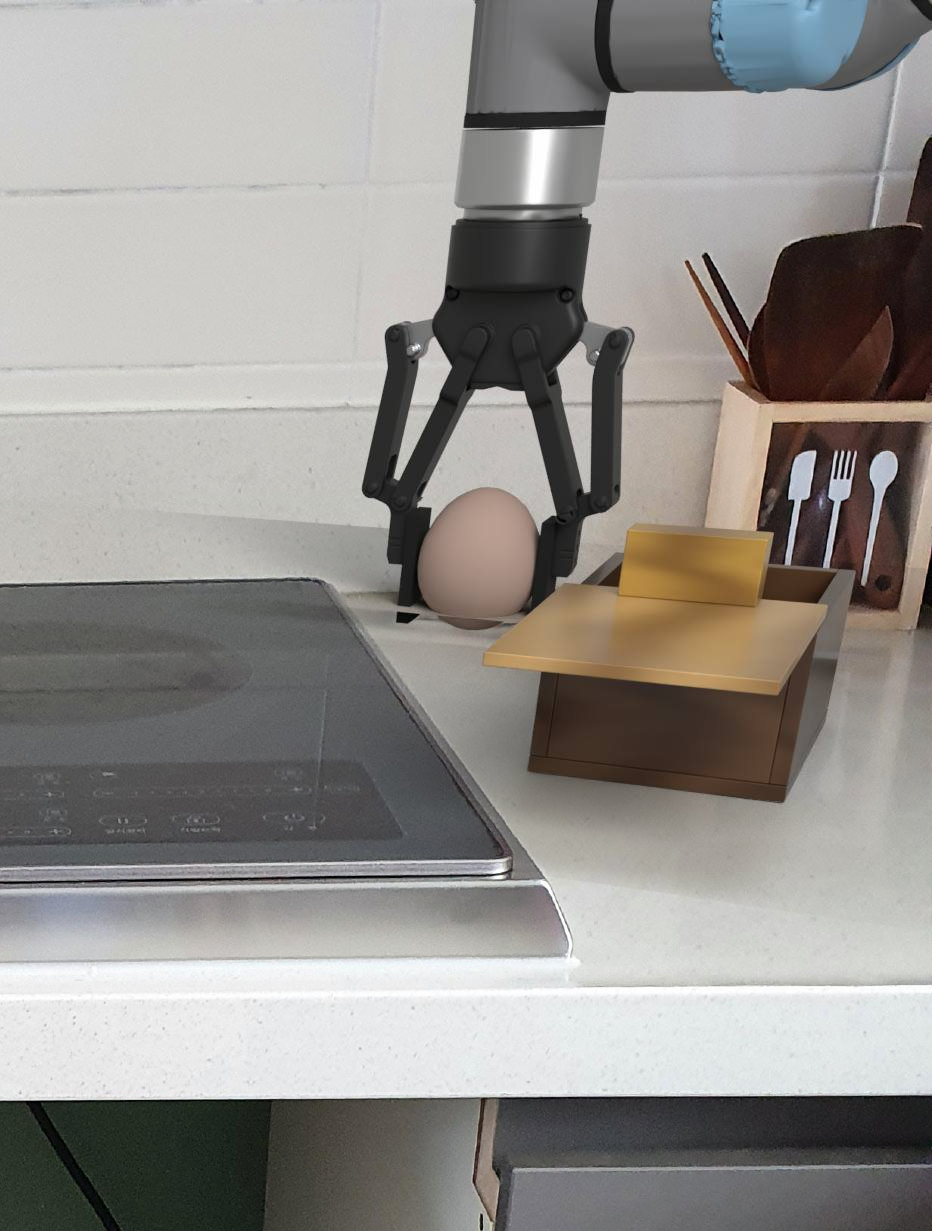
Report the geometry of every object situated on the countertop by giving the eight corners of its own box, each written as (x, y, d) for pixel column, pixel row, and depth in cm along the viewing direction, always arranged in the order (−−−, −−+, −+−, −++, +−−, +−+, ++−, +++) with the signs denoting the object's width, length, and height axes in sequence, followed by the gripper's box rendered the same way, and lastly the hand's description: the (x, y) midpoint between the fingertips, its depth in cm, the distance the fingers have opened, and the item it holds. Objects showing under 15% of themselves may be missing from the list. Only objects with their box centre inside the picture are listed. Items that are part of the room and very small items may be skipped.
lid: (825, 617, 95) (841, 536, 94) (777, 696, 83) (795, 605, 82) (562, 595, 101) (573, 518, 99) (481, 665, 89) (492, 579, 87)
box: (825, 722, 109) (856, 570, 105) (784, 803, 97) (817, 634, 93) (593, 697, 114) (615, 551, 111) (526, 771, 102) (549, 610, 99)
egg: (539, 620, 129) (558, 480, 126) (526, 646, 124) (545, 500, 120) (420, 613, 132) (435, 475, 128) (402, 637, 126) (417, 494, 122)
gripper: (724, 210, 116) (657, 627, 126) (364, 210, 125) (329, 598, 135) (701, 217, 110) (633, 654, 120) (326, 216, 119) (292, 622, 129)
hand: (472, 624), depth 128 cm, fingers closed on egg, 7 cm apart
